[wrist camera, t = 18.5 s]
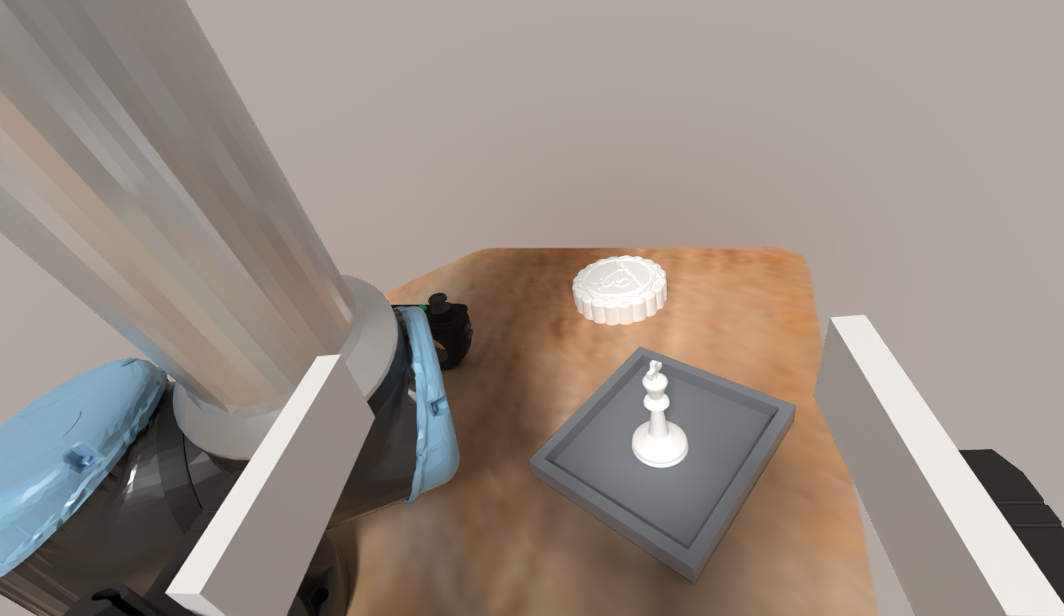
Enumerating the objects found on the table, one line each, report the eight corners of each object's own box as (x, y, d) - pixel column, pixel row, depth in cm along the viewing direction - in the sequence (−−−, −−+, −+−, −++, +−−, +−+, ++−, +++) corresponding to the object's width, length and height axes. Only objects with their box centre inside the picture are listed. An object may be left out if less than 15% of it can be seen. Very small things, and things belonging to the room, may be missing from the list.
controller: (475, 378, 58) (451, 309, 53) (385, 372, 62) (354, 308, 57) (488, 354, 61) (467, 286, 56) (402, 349, 66) (374, 286, 60)
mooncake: (562, 291, 70) (558, 269, 68) (639, 264, 72) (638, 242, 70) (597, 338, 60) (593, 315, 58) (686, 306, 62) (685, 282, 60)
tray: (532, 474, 46) (528, 460, 45) (641, 360, 55) (639, 346, 54) (694, 584, 36) (694, 569, 35) (793, 421, 45) (796, 405, 44)
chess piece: (621, 452, 45) (609, 370, 40) (649, 416, 48) (642, 335, 42) (671, 477, 42) (666, 393, 37) (698, 438, 45) (697, 353, 39)
